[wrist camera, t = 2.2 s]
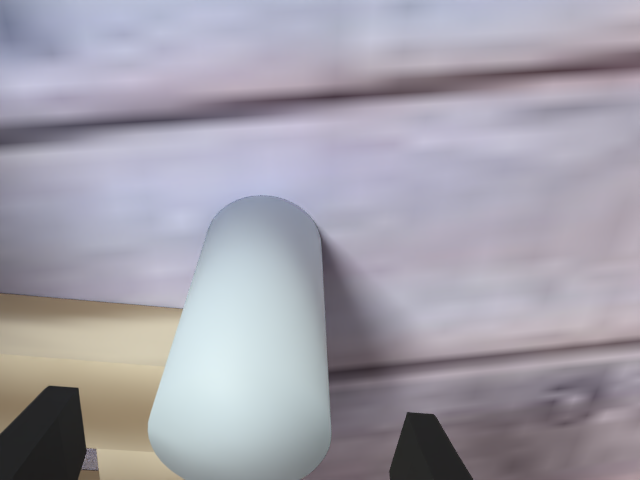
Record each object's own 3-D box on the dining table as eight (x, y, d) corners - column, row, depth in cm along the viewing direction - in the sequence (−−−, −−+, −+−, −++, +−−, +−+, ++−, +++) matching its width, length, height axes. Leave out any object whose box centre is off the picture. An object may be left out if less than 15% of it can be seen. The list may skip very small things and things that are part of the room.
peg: (207, 189, 18) (144, 361, 11) (328, 202, 18) (344, 376, 11) (204, 289, 20) (150, 488, 13) (313, 298, 20) (319, 497, 13)
